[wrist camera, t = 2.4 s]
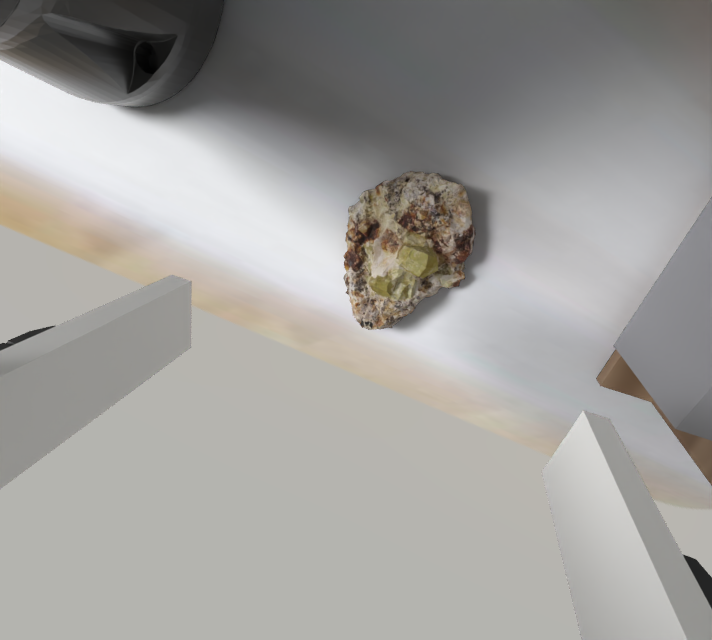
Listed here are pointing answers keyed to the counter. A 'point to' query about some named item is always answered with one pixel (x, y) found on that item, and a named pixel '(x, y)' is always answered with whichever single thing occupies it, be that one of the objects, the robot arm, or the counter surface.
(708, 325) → the trapdoor
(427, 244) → the mineral rock
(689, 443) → the frame
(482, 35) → the counter surface
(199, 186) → the counter surface
